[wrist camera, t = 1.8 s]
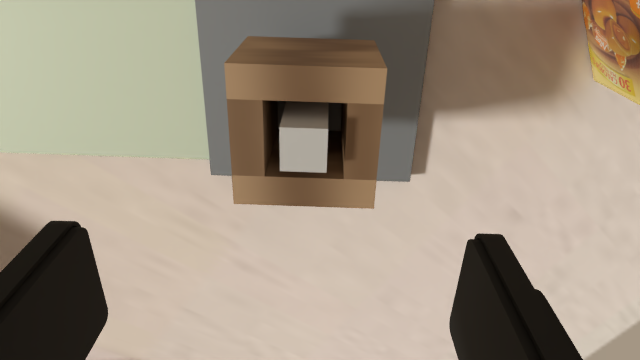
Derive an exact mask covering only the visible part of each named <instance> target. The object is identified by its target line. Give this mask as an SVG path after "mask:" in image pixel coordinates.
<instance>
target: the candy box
mask: <svg viewBox="0 0 640 360" xmlns="http://www.w3.org/2000/svg"><path fill="white" fill-rule="evenodd" d="M582 5H583V13H584V21H585V26H586V32H587V39H588V47H589V53H590V59H591V66H592V71H593V78H594V80H595V81H596V82H598V83H600V84H602V85H604V86H606V87H607V88H609V89H611V90H613V91H615V92H617V93H618V94H620V95H622V96H624V97H626V98H628V99H629V100H631V101H633V102H635V103H637V104H639V105H640V0H582Z"/></svg>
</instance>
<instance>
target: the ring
mask: <svg viewBox="0 0 640 360" xmlns="http://www.w3.org/2000/svg"><path fill="white" fill-rule="evenodd" d="M224 68H225V82H226V97H227V111H228V126H229V141H230V155H231V170H232V184H233V199H234V204H257V205H286V206H315V207H344V208H373V209H374V200H375V190H376V180H377V169H378V159H379V149H380V138H381V128H382V118H383V108H384V97H385V87H386V77H387V67H386V65H385V62H384V60H383V58H382V56H381V54H380V51H379V49H378V47H377V45H376V43H375V41H374V40H350V39H320V38H290V37H260V36H248V37H247V38H246V39H245V40H244V41H243V42H242V43H241V45H240V46H239V47H238V48H237V49H236V50H235V51H234V52H233V54H232V55H231V56H230V57H229V58H228V59H227V60H226V62H225V63H224ZM278 101H301V102H330V103H342V117H341V131H328V147H327V173H319V172H290V171H280V144H279V129H278Z"/></svg>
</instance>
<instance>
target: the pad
mask: <svg viewBox="0 0 640 360" xmlns="http://www.w3.org/2000/svg"><path fill="white" fill-rule="evenodd" d="M0 152H1V153H30V154H60V155H89V156H118V157H148V158H177V159H206V160H210V158H209V148H208V137H207V126H206V115H205V104H204V93H203V83H202V72H201V61H200V50H199V39H198V28H197V18H196V7H195V0H0Z"/></svg>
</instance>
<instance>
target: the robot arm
mask: <svg viewBox="0 0 640 360" xmlns="http://www.w3.org/2000/svg"><path fill="white" fill-rule="evenodd" d="M107 317H108V308H107V304H106V300H105V296H104V292H103V289H102V285H101V281H100V277H99V273H98V269H97V266H96V262H95V258H94V254H93V250H92V246H91V243H90V239H89V235H88V232H87V230H86V229H85V228H81V226H80V224H79V223H78V222H75V221H50V222H49V223H48V224H46V225H45V227H44V228H43V229H42V230H41V231H40V232H39V233H38V234H37V235H36V236H35V237H34V238H33V239H32V240H31V241H30V242H29V243H28V244H27V245H26V246H25V247H24V248H23V249H22V250H21V252H20V253H19V254H18V255H17V256H16V257H15V258H14V259H13V260H12V261H11V262H10V263H9V264H8V265H7V266H6V267H5V268H4V269H3V270H2V271H1V272H0V360H85V359H86V357H87V356H88V354H89V352H90V350H91V349H92V347H93V345H94V343H95V341H96V340H97V338H98V336H99V334H100V333H101V331H102V329H103V327H104V326H105V323H106V321H107ZM450 333H451V337H452V340H453V343H454V346H455V350H456V353H457V356H458V359H459V360H583V359H582V358H581V356H580V354H579V353H578V351H577V349H576V348H575V346H574V344H573V343H572V341H571V339H570V338H569V336H568V334H567V333H566V331H565V329H564V328H563V326H562V324H561V323H560V321H559V319H558V318H557V316H556V314H555V313H554V311H553V309H552V308H551V306H550V304H549V303H548V301H547V299H546V298H545V296H544V295H543V294H542V292H541V291H539V290H537V289H534V287H533V286H532V284H531V282H530V280H529V279H528V277H527V275H526V274H525V272H524V270H523V269H522V267H521V265H520V263H519V262H518V260H517V258H516V257H515V255H514V253H513V251H512V250H511V248H510V246H509V245H508V243H507V241H506V240H505V238H504V237H503V235H501V234H477V235H476V236H475V239H470V240H468V242H467V245H466V249H465V254H464V258H463V263H462V267H461V272H460V276H459V281H458V285H457V290H456V294H455V298H454V303H453V307H452V312H451V316H450Z"/></svg>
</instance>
